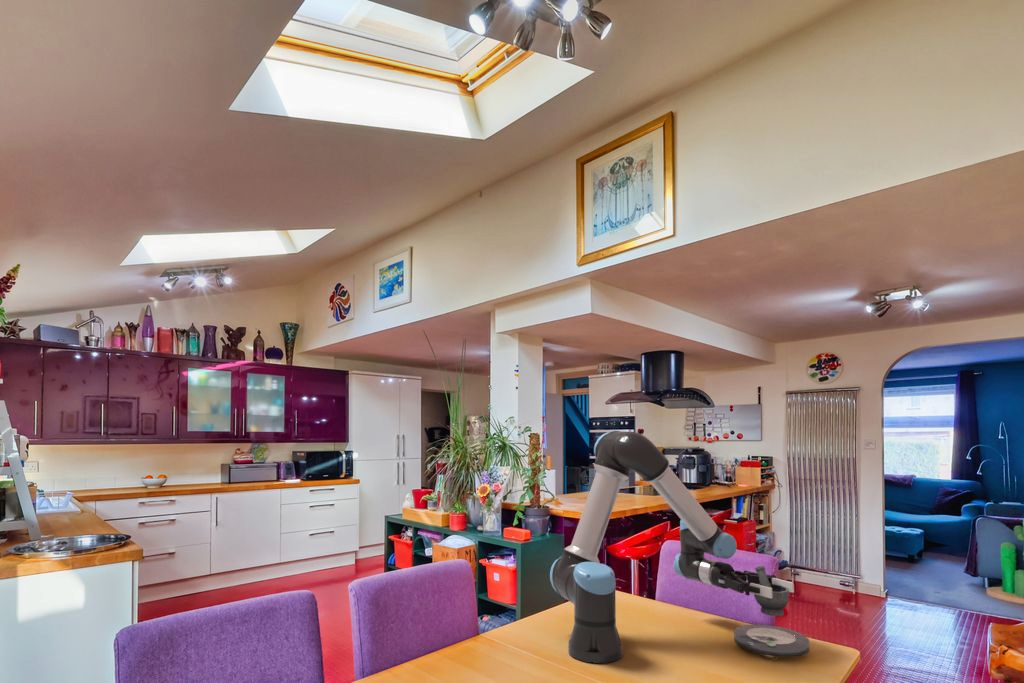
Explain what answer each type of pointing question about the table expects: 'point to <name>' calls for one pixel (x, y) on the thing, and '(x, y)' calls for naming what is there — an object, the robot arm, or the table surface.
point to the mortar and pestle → (778, 592)
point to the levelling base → (771, 641)
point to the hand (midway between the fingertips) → (782, 590)
